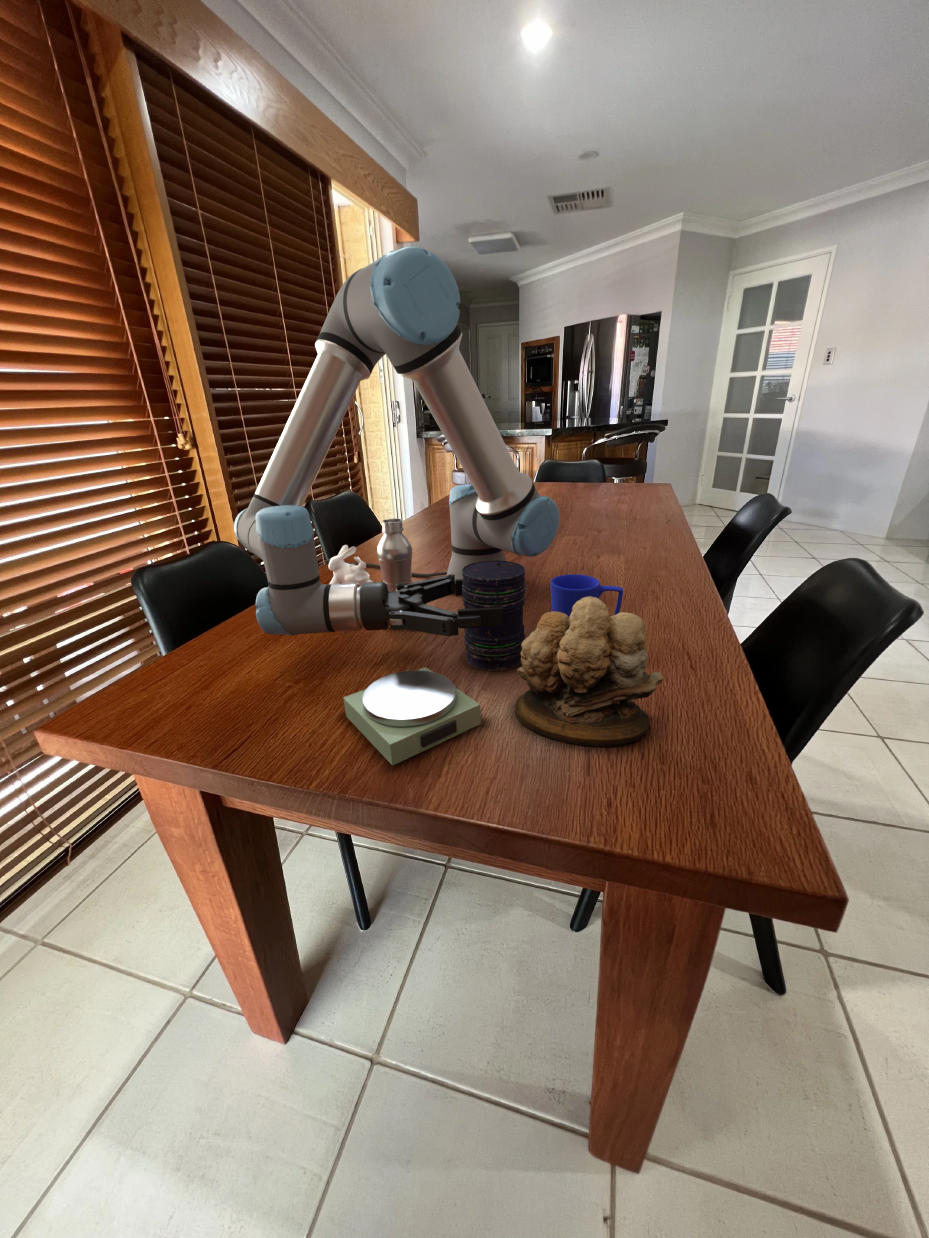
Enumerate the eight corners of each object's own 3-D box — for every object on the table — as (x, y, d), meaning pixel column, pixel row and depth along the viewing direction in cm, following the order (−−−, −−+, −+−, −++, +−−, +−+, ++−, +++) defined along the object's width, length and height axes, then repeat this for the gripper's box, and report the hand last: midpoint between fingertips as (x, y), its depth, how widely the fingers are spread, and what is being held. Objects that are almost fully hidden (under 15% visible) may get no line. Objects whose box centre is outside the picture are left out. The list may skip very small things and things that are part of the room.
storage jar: (516, 674, 76) (516, 581, 70) (456, 666, 79) (451, 576, 73) (531, 647, 84) (532, 562, 78) (476, 640, 87) (473, 558, 82)
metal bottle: (424, 619, 97) (416, 517, 89) (409, 633, 91) (400, 525, 84) (394, 616, 99) (384, 516, 91) (378, 629, 93) (366, 524, 86)
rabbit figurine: (321, 591, 115) (314, 550, 111) (337, 580, 122) (332, 542, 118) (367, 594, 112) (362, 553, 108) (382, 583, 118) (377, 544, 114)
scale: (345, 716, 67) (342, 697, 66) (427, 684, 74) (425, 666, 73) (393, 767, 57) (391, 746, 56) (482, 725, 64) (482, 705, 63)
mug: (620, 647, 83) (626, 591, 79) (547, 643, 85) (549, 588, 81) (617, 627, 90) (621, 575, 86) (549, 624, 92) (551, 573, 89)
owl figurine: (655, 703, 67) (670, 584, 60) (657, 758, 57) (677, 621, 50) (523, 686, 72) (524, 575, 66) (504, 734, 62) (503, 607, 55)
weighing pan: (347, 696, 66) (346, 689, 65) (424, 668, 72) (424, 661, 72) (391, 739, 57) (390, 732, 56) (474, 702, 63) (474, 695, 63)
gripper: (374, 600, 90) (491, 595, 91) (352, 666, 67) (508, 657, 68) (370, 561, 87) (490, 555, 88) (344, 615, 64) (508, 606, 65)
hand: (498, 599), depth 78 cm, fingers open, 13 cm apart
